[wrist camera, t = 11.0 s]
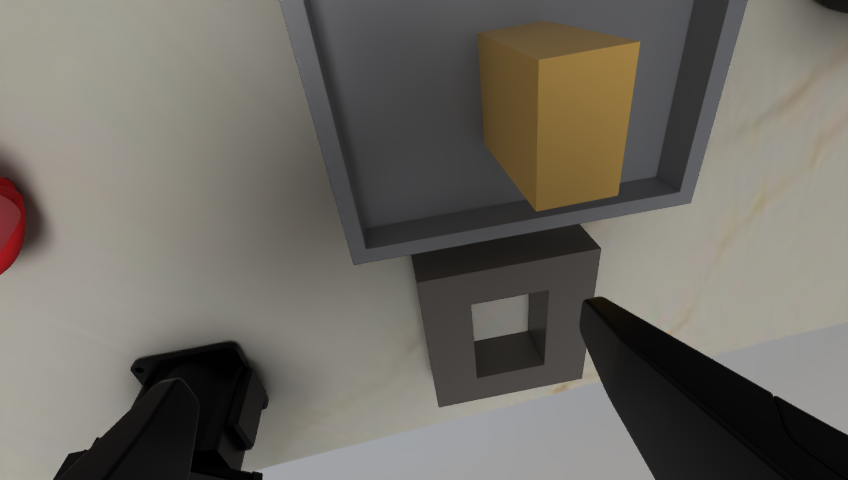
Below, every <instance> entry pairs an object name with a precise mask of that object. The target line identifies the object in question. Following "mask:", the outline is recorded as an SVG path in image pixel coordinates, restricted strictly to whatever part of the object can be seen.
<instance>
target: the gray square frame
mask: <svg viewBox="0 0 848 480" xmlns="http://www.w3.org/2000/svg"><path fill="white" fill-rule="evenodd" d="M600 253H601V248H600V247H599V245H598V244H597V243H596V242H595V241H594V240H593V239H592V238H591V237H590V235H589V234H588V233H587V232H586V231H585V230H584V229H583V228H582V227H581V226H580V224H575V225H569V226H564V227H558V228H553V229H547V230H542V231H536V232H531V233H526V234H520V235H515V236H509V237H504V238H498V239H493V240H488V241H482V242H477V243H471V244H466V245H460V246H455V247H450V248H444V249H439V250H433V251H428V252H422V253H417V254H411V256H412V261H413V267H414V273H415V278H416V284H417V290H418V295H419V301H420V307H421V312H422V318H423V324H424V329H425V335H426V341H427V346H428V352H429V358H430V363H431V369H432V374H433V380H434V385H435V390H436V395H437V401H438V406H439V407H443V406H448V405H453V404H458V403H463V402H468V401H473V400H478V399H483V398H488V397H493V396H498V395H503V394H508V393H512V392H517V391H522V390H527V389H532V388H537V387H542V386H547V385H552V384H557V383H562V382H567V381H572V380H577V379H582V374H583V367H584V360H585V354H586V345H585V343H584V340H583V338H582V336H581V333H580V328H579V323H580V315H581V307H582V302H583V301H584V300H585V299H589V298H594V293H595V287H596V280H597V273H598V266H599V260H600ZM524 294H529V317H528V331H527V332H522V333H517V334H512V335H507V336H502V337H497V338H492V339H486V340H481V341H476V342H474V336H473V324H472V312H471V305H472V304H477V303H482V302H488V301H493V300H498V299H503V298H509V297H514V296H519V295H524Z"/></svg>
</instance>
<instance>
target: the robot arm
mask: <svg viewBox="0 0 848 480" xmlns="http://www.w3.org/2000/svg"><path fill="white" fill-rule="evenodd" d="M579 328H580V333H581V336H582V338H583V340H584V343H585V345H586V347H587V349H588V352H589V354H590V356H591V359H592V361H593V363H594V365H595V368H596V370H597V372H598V375H599V377H600V379H601V382H602V384H603V386H604V388H605V390H606V393H607V395H608V397H609V399H610V400H611V402H612V404H613V406H614V408H615V409H616V411H617V413H618V415H619V416H620V418H621V420H622V422H623V423H624V425H625V427H626V428H627V431H628V432H629V434H630V436H631V438H632V439H633V441H634V443H635V445H636V446H637V448H638V450H639V452H640V453H641V455H642V457H643V458H644V460H645V462H646V464H647V466H648V467H649V469H650V471H651V473H652V474H653V476H654V478H655V480H848V435H847V434H845V433H843V432H841V431H839V430H837V429H835V428H833V427H831V426H830V425H828V424H826V423H824V422H822V421H821V420H819V419H817V418H815V417H814V416H812V415H810V414H808V413H806V412H804V411H803V410H801V409H799V408H797V407H795V406H793V405H792V404H790V403H788V402H787V401H785V400H783V399H781V398H780V397H778V396H774V397H773V395H772V393H771V392H769V391H767V390H765V389H764V388H762V387H760V386H758V385H757V384H755V383H753V382H751V381H750V380H748V379H746V378H744V377H743V376H740V375H739V374H737V373H736V372H734V371H732V370H730V369H729V368H727V367H725V366H723V365H722V364H720V363H718V362H716V361H714V360H713V359H711V358H709V357H708V356H706V355H704V354H702V353H701V352H699V351H697V350H695V349H694V348H692V347H690V346H688V345H687V344H685V343H683V342H681V341H679V340H678V339H676V338H674V337H672V336H671V335H669V334H667V333H665V332H664V331H662V330H660V329H658V328H657V327H655V326H653V325H651V324H650V323H648V322H646V321H644V320H643V319H641V318H639V317H637V316H636V315H634V314H632V313H630V312H629V311H627V310H625V309H623V308H622V307H620V306H618V305H616V304H615V303H613V302H611V301H609V300H608V299H606V298H604V297H594V298H589V299H585V300H584V301H583V302H582V307H581V315H580V323H579ZM229 350H231V351H229ZM130 370H131V372H132V373H133V374H134V376H135V377H136V378H137V379H138V380H139V382H140V383H141V384H142V385H143V387H142V388H141V390H140V392H139V394H138V396H137V398H136V400H135V402H134V404H133V405H132V407H131V409H130V410H129V411H128V412H127V413H126V414H125V415H124V416H123V417H122V418H121V419H120V420H119V421H118V422H117V423H116V424H115V425H114V426H113V427H112V428H111V429H110V430H109V431H107V432H106V433H105V434H104V435H103V436H102V437H101V438H98V437H97V438H96V440H95V441H94V443H93V445H92V446H91V448H90V449H89V450H85V449H84V451H80V452H75V453H70V454H68V456H67V458H66V459H65V461H64V463H63V464H62V466H61V467H60V469H59V471H58V472H57V474H56V476H55V477H54V479H53V480H262V476H263V474H262V473H259V472H254V471H253V472H252V473H251V472H246V471H241V467H242V463H243V458H244V454H245V451H247V450H251V449H252V447H253V446H254V443H255V438H256V434H257V429H258V425H259V420H260V416H261V411H262V410H263V409H266V408H267V406H268V402H269V400H268V398H267V396H266V394H265V393H266V391H265V389H264V387H263V386H262V384H261V382H260V380H259V378H258V377H257V375H256V373H255V371H254V370H253V369H252V368H251V367H250V366H249V364H248V362H247V360H246V359H245V357H244V355H243V353H242V351H241V350H240V348H239V346H238V345H237V344H235V343H224V344H219V345H214V346H208V347H203V348H198V349H193V350H187V351H182V352H177V353H172V354H166V355H161V356H156V357H151V358H145V359H140V360H136V361H135V362H134V363H133V365H132V366H131V369H130Z"/></svg>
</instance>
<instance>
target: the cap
mask: <svg viewBox="0 0 848 480" xmlns="http://www.w3.org/2000/svg"><path fill="white" fill-rule="evenodd" d="M23 203H24V198H23V196H22V194H21V193H18V191H17V190H16V188H15V186H14V184H13V183H12V182H11V181H10V180H9V179H6V178H3V177H0V275H1V274H2V273H3V272H4V271H6V270H7V269H8V268H9V267H10V266H11V265H12V264H13V262H14V261H15V260H16V258H17V256H18V255H19V253H20V250H21V247H22V244H23V240H24V235H25V226H26V214H25V207H24V204H23Z"/></svg>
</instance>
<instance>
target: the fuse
mask: <svg viewBox="0 0 848 480" xmlns="http://www.w3.org/2000/svg"><path fill="white" fill-rule="evenodd" d="M477 34H478V51H479V68H480V84H481V101H482V118H483V134H484V144H485V146H486V147H487V148H488V150H489V151H490V152H491V154H492V155H493V156H494V158H495V159H496V160H497V161H498V163H499V164H500V165H501V167H502V168H503V169H504V171H505V172H506V173H507V174H508V176H509V177H510V178H511V180H512V181H513V182H514V184H515V185H516V186H517V187H518V189H519V190H520V191H521V193H522V194H523V195H524V197H525V198H526V199H527V200H528V202H529V203H530V204H531V206H532V207H533V208H534V210H535V211H536V212H537V211H542V210H547V209H552V208H557V207H562V206H567V205H572V204H577V203H583V202H588V201H593V200H598V199H603V198H608V197H613V196H618V192H619V185H620V178H621V171H622V165H623V158H624V151H625V144H626V137H627V130H628V123H629V116H630V110H631V103H632V96H633V89H634V82H635V75H636V68H637V61H638V55H639V48H640V41H636V40H631V39H627V38H622V37H618V36H613V35H608V34H604V33H599V32H595V31H590V30H586V29H581V28H577V27H572V26H568V25H563V24H559V23H554V22H549V21H540V22H535V23H529V24H523V25H518V26H512V27H507V28H501V29H495V30H490V31H484V32H479V33H477Z"/></svg>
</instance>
